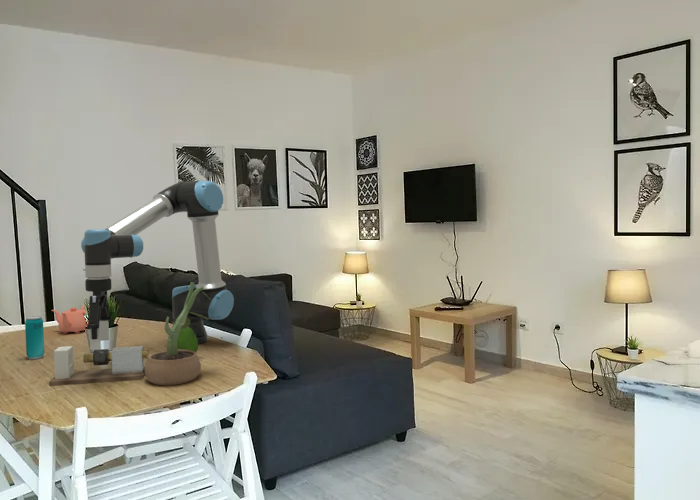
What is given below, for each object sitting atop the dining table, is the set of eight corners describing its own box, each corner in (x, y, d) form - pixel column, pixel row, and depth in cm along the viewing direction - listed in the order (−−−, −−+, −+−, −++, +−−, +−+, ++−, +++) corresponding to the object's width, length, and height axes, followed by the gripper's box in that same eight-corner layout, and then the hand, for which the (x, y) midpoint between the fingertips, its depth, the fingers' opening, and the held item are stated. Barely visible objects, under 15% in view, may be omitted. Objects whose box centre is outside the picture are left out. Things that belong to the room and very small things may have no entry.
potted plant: (160, 391, 166) (157, 289, 164) (136, 378, 179) (132, 284, 178) (228, 375, 181) (226, 282, 179) (201, 365, 195) (198, 278, 193)
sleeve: (144, 368, 186) (143, 345, 185) (142, 372, 181) (141, 349, 181) (115, 370, 184) (114, 347, 184) (112, 374, 179) (111, 350, 179)
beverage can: (48, 356, 208) (46, 316, 207) (33, 360, 203) (31, 319, 202) (37, 355, 211) (35, 315, 210) (23, 359, 205) (21, 318, 204)
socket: (74, 376, 182) (72, 346, 181) (69, 382, 176) (67, 350, 175) (60, 377, 181) (59, 346, 180) (55, 383, 175) (53, 351, 175)
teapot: (63, 336, 243) (61, 311, 242) (52, 332, 253) (50, 307, 252) (97, 331, 253) (96, 307, 252) (85, 327, 263) (84, 303, 263)
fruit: (186, 355, 209) (186, 322, 208) (202, 357, 205) (201, 324, 204) (170, 360, 202) (169, 326, 201) (186, 362, 198) (185, 328, 197)
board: (147, 369, 189) (147, 366, 189) (142, 379, 178) (142, 375, 178) (59, 375, 183) (59, 372, 183) (49, 385, 173) (49, 381, 172)
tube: (148, 360, 186) (148, 345, 186) (146, 364, 181) (146, 348, 181) (86, 364, 182) (86, 348, 182) (82, 368, 177) (82, 352, 177)
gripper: (94, 274, 190) (95, 337, 191) (75, 282, 166) (77, 354, 167) (118, 274, 192) (119, 336, 193) (102, 281, 168) (104, 352, 169)
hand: (100, 344), depth 180 cm, fingers open, 13 cm apart
